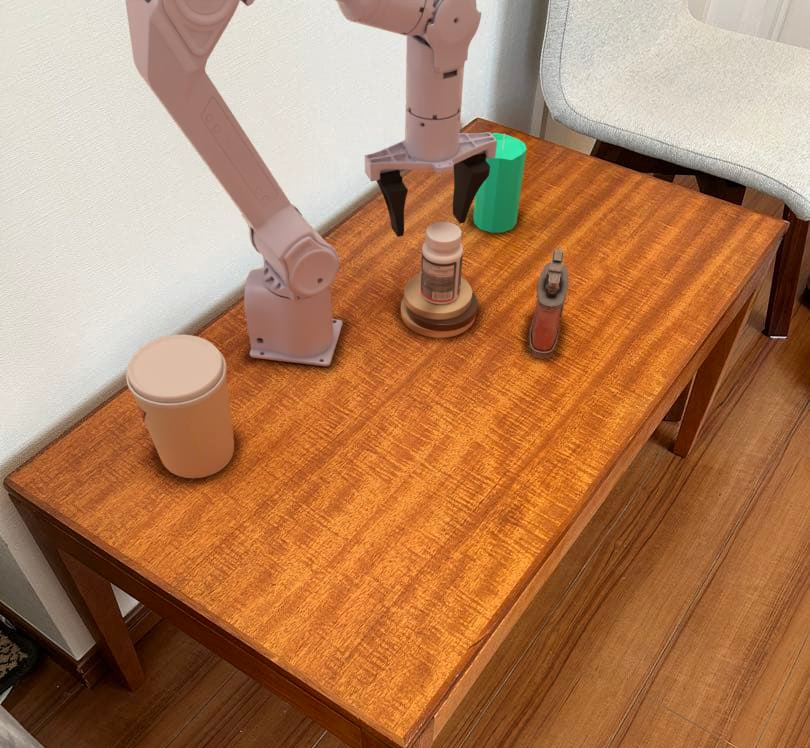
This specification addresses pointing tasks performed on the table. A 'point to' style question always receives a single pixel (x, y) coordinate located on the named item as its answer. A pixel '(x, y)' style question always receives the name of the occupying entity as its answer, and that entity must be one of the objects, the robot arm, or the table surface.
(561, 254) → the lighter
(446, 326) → the tan layered disc
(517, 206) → the candle
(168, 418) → the coffee cup
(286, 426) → the table surface
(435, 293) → the pill bottle
